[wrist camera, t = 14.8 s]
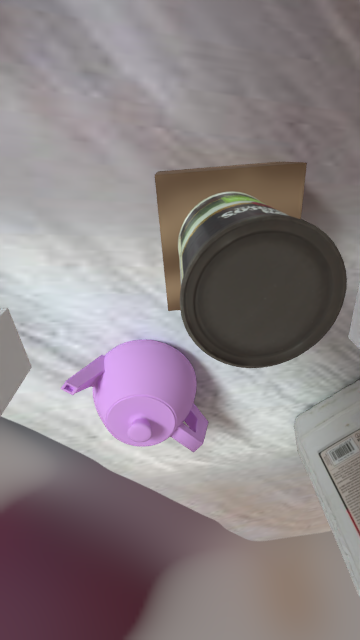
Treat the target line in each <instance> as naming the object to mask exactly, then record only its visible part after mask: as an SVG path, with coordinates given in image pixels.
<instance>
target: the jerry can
mask: <svg viewBox="0 0 360 640" xmlns="http://www.w3.org/2000/svg"><path fill="white" fill-rule="evenodd" d="M294 429H295V436H296V444H297V450H298V453H299V455H300V458H301V460H302V462H303V465H304V467H305V469H306V472H307V474H308V476H309V478H310V481H311V483H312V485H313V488H314V490H315V492H316V495H317V497H318V499H319V502H320V504H321V507H322V509H323V511H324V513H325V516H326V518H327V520H328V523H329V525H330V527H331V530H332V532H333V534H334V537H335V539H336V542H337V544H338V547H339V549H340V552H341V554H342V557H343V559H344V561H345V564H346V566H347V568H348V571H349V573H350V576H351V578H352V580H353V583H354V585H355V588H356V590H357V593H358V595H359V596H360V380H358V381H356V382H355V383H354V384H351V385H349V386H347V387H346V388H344V389H342V390H340V391H339V392H337V393H335V394H334V395H333V396H332V397H329V398H327V399H325V400H323V401H322V402H320V403H318V404H317V405H315V406H313V407H312V408H311V409H310V410H307V411H305V412H304V413H302V414H300V415H299V416H297V418H296V419H295V424H294Z"/></svg>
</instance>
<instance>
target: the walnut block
mask: <svg viewBox="0 0 360 640" xmlns="http://www.w3.org/2000/svg"><path fill="white" fill-rule="evenodd" d="M306 165H307V163H303V162H270V163H258V164H245V165H233V166H221V167H209V168H197V169H184V170H172V171H160V172H157V173H156V174H155V183H156V193H157V203H158V213H159V223H160V233H161V243H162V252H163V262H164V272H165V282H166V292H167V302H168V311H173V310H181V309H180V291H181V277H180V259H179V252H178V238H179V233H180V230H181V227H182V224H183V222H184V220H185V218H186V217H187V215H188V214H189V213H190V211H191V210H192V209H193V208H194V207H195V206H196V205H197V204H198V203H200V202H201V201H202V200H204V199H206V198H208V197H210V196H212V195H215V194H218V193H222V192H241V193H245V194H248V195H250V196H253V197H254V198H256V199H258V200H259V201H261V202H262V203H264V204H266V205H268V206H270V207H272V208H274V209H276V210H278V211H280V212H282V213H285V214H287V215H289V216H292V217H295V218H298V219H301V211H302V202H303V192H304V183H305V174H306Z"/></svg>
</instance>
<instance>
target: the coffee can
mask: <svg viewBox="0 0 360 640" xmlns="http://www.w3.org/2000/svg"><path fill="white" fill-rule="evenodd" d="M178 252H179V259H180V277H181V291H180V309H181V316H182V320H183V322H184V325H185V328H186V330H187V332H188V334H189V336H190V337H191V338H192V340H193V341H194V342H195V344H196V345H197V346H198V347H199V348H200V349H201V350H202V351H204V352H205V353H206V354H208V355H209V356H211V357H212V358H214V359H216V360H218V361H220V362H223V363H225V364H229V365H232V366H237V367H242V368H261V367H268V366H273V365H277V364H280V363H283V362H286V361H289V360H291V359H293V358H295V357H297V356H299V355H301V354H302V353H304V352H305V351H307V350H308V349H310V348H311V347H312V346H314V345H315V344H316V343H317V342H318V341H319V340H321V339H322V338H323V336H324V335H325V334H326V333H327V332H328V331H329V329H330V328H331V327H332V325H333V324H334V322H335V320H336V318H337V316H338V314H339V312H340V310H341V307H342V305H343V301H344V298H345V293H346V283H347V278H346V270H345V266H344V262H343V259H342V257H341V254H340V252H339V250H338V249H337V247H336V246H335V244H334V242H333V241H332V240H331V239H330V238H329V237H328V236H327V235H326V234H325V233H324V232H323V231H322V230H320V229H319V228H318V227H316V226H314V225H312V224H310V223H308V222H306V221H304V220H301V219H298V218H295V217H292V216H289V215H287V214H285V213H282V212H280V211H278V210H276V209H274V208H272V207H270V206H268V205H266V204H264V203H262V202H261V201H259V200H258V199H256V198H254V197H253V196H250V195H248V194H245V193H241V192H222V193H218V194H215V195H212V196H210V197H208V198H206V199H204V200H202V201H201V202H200V203H198V204H197V205H196V206H195V207H194V208H193V209H192V210H191V211H190V213H189V214H188V215H187V217H186V218H185V220H184V222H183V224H182V227H181V230H180V233H179V238H178Z"/></svg>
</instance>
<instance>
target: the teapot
mask: <svg viewBox="0 0 360 640" xmlns="http://www.w3.org/2000/svg"><path fill="white" fill-rule="evenodd" d="M90 386H92V387H93V398H94V403H95V407H96V409H97V412H98V414H99V416H100V418H101V420H102V421H103V423H104V425H105V427H106V428H107V429H108V431H109V432H110V433H111V434H112V435H113V436H114V437H115V438H116V439H118V440H120V441H122V442H124V443H126V444H129V445H133V446H151V445H155V444H158V443H161V442H163V441H164V440H166V439H167V438H169V437H172V438H173V439H175V440H176V441H178V442H179V443H181V444H182V445H184V446H185V447H187V448H188V449H189V450H191V451H192V452H195V451H196V450H197V449H198V448H199V447H200V446H201V445H202V444H203V442H204V438H205V434H206V430H207V426H208V421H207V420H206V418H205V417H204V416H203V414H202V413H201V412H200V411H199V409H198V408H197V407H196V405H195V404H194V399H195V394H196V375H195V371H194V369H193V367H192V365H191V363H190V362H189V361H188V359H187V358H186V357H185V356H184V355H183V354H182V353H181V352H180V351H178V350H177V349H175V348H174V347H172V346H170V345H167V344H165V343H162V342H159V341H154V340H134V341H129V342H125V343H123V344H120V345H118V346H116V347H115V348H113V349H112V350H110V351H109V352H108V353H107V354H106V355H105V356H104V355H101V356H100V357H98V358H97V359H95V360H94V361H93V362H91V363H90V364H88V365H87V366H86V367H84V368H83V369H82V370H80V371H79V372H77V373H76V374H75V375H73V376H72V377H70V378H69V379H68V380H66V382H65V383H64V385H63V386H62V387H61V389H62V390H64V391H66V392H68V393H70V394H71V395H74V393H77V392H79V391H81V390H83V389H86V388H88V387H90ZM184 421H185V422H186V424H187V425H188V426H189V427H187V426H186V425H185V424H184V423H183V422H184Z"/></svg>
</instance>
